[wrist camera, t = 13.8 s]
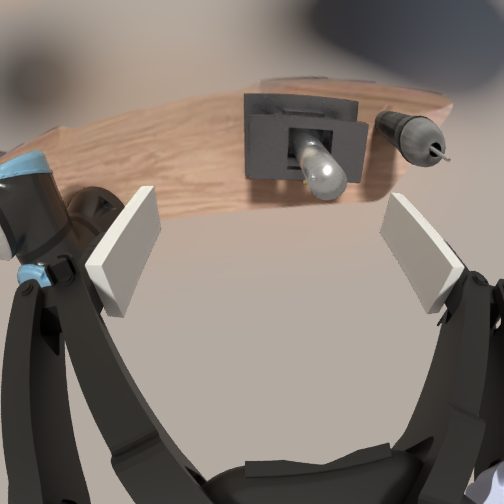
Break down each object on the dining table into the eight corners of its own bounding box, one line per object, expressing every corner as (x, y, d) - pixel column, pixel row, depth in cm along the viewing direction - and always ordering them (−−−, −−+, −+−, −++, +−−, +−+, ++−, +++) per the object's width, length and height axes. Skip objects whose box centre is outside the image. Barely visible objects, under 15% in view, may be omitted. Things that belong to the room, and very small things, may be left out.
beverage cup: (398, 147, 41) (464, 197, 25) (363, 136, 40) (423, 184, 24) (408, 110, 36) (483, 145, 21) (372, 97, 36) (442, 123, 20)
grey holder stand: (245, 174, 45) (243, 195, 39) (244, 93, 37) (241, 97, 30) (347, 177, 45) (363, 198, 38) (356, 101, 37) (377, 108, 30)
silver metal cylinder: (288, 125, 39) (311, 163, 25) (313, 126, 39) (349, 166, 25) (287, 149, 42) (307, 201, 28) (311, 150, 42) (343, 202, 28)
